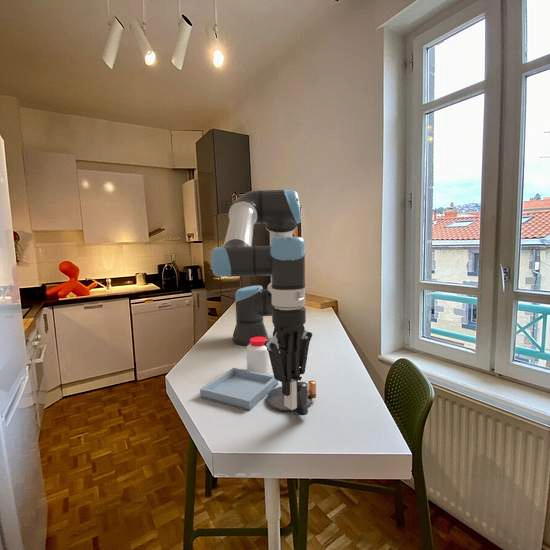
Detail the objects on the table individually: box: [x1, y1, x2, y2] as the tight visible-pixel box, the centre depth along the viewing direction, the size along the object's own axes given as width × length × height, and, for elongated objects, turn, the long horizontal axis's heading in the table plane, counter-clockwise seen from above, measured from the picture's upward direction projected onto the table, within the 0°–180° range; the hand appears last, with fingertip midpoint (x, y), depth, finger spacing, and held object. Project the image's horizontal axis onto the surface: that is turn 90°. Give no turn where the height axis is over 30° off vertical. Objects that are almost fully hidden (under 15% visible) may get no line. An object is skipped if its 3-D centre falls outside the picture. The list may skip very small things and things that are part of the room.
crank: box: [282, 381, 309, 416], centre depth 80 cm, size 12×4×7 cm, turn 17°
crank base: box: [266, 380, 317, 413], centre depth 84 cm, size 13×12×5 cm
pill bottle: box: [246, 337, 272, 375], centre depth 103 cm, size 8×8×11 cm
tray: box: [199, 367, 279, 412], centre depth 90 cm, size 16×16×2 cm
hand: (290, 406), depth 73 cm, fingers closed
